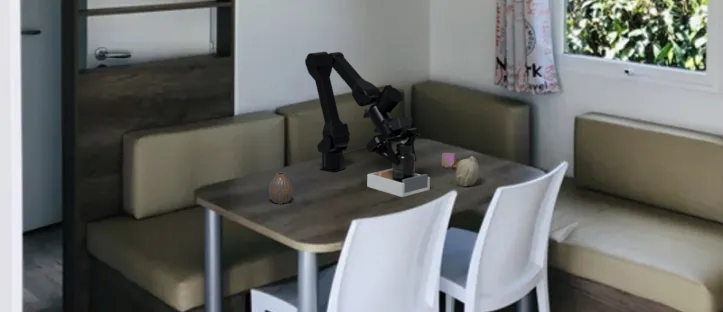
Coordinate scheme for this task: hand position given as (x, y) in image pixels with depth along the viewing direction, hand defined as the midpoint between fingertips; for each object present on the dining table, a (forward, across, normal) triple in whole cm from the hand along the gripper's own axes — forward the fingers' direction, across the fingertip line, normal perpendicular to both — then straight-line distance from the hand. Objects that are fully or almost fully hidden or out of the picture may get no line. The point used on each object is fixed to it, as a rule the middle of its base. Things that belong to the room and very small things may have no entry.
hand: (406, 162), depth 295 cm
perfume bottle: (0, +34, +14) cm, 36 cm away
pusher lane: (+4, 0, +9) cm, 9 cm away
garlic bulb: (+12, +18, 0) cm, 22 cm away
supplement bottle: (+4, 0, +6) cm, 7 cm away
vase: (-4, -36, +18) cm, 41 cm away
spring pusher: (0, 0, +11) cm, 11 cm away
